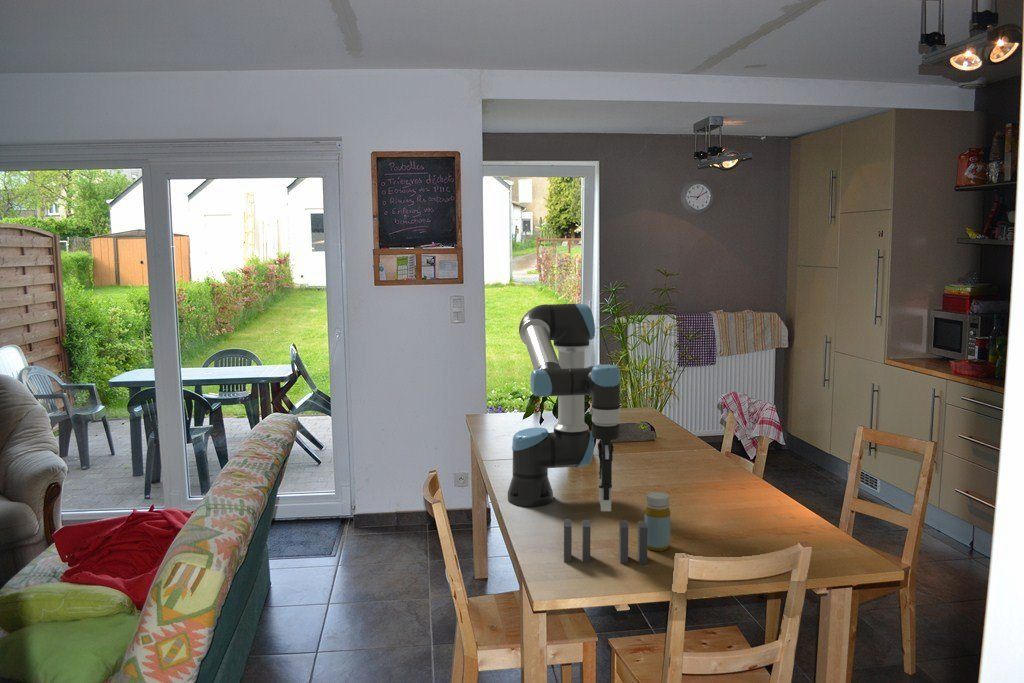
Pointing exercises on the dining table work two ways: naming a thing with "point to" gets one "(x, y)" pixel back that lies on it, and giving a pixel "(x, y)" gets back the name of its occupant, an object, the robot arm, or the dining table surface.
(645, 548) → the domino
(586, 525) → the domino
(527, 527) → the dining table surface
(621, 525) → the domino
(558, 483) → the dining table surface
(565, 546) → the domino
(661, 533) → the bottle
